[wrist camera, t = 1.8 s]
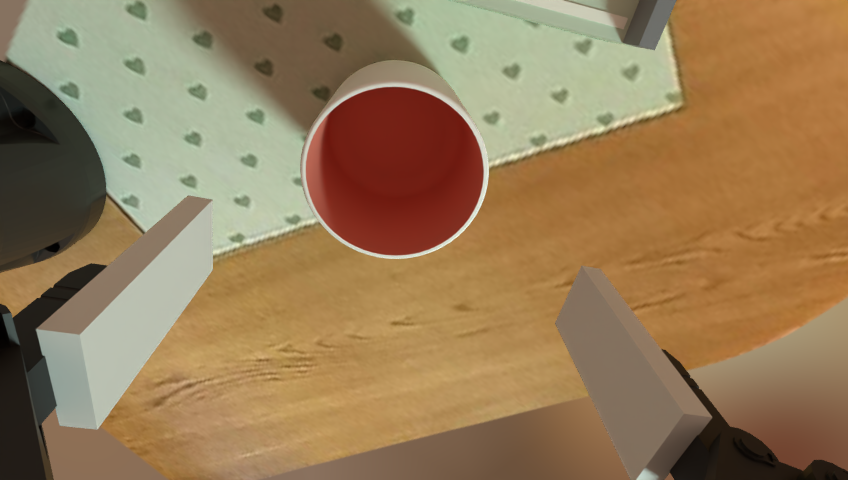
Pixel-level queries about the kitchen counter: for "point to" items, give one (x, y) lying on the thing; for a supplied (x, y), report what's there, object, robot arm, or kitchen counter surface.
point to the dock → (591, 17)
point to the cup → (394, 162)
